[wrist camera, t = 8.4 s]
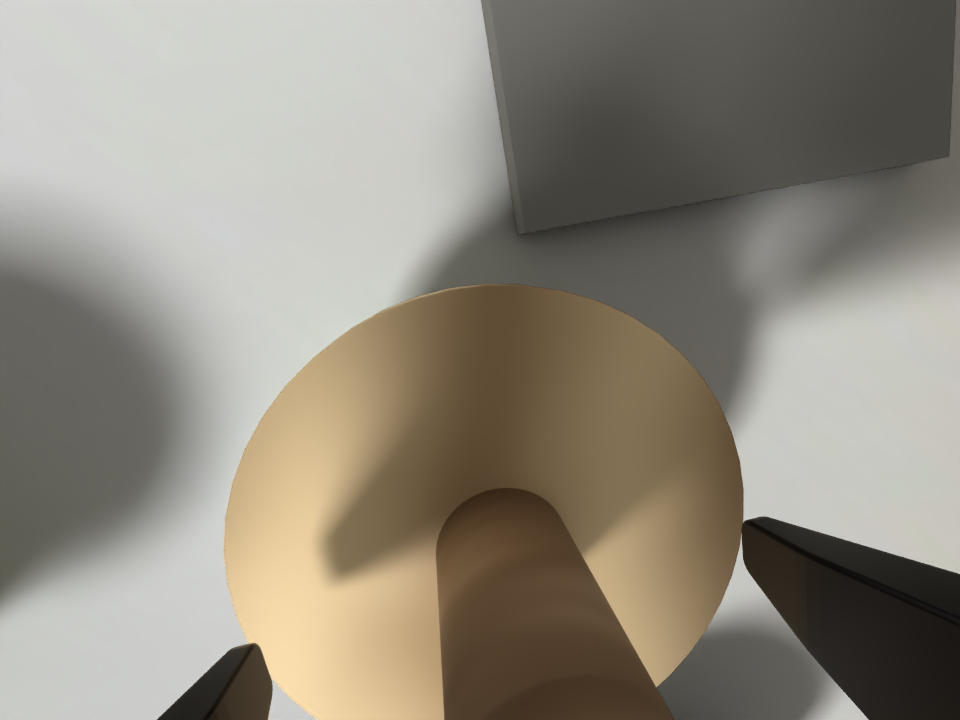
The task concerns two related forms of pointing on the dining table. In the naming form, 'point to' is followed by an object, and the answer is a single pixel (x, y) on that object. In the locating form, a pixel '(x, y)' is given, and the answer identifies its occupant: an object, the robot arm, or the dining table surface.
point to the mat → (710, 98)
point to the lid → (485, 514)
